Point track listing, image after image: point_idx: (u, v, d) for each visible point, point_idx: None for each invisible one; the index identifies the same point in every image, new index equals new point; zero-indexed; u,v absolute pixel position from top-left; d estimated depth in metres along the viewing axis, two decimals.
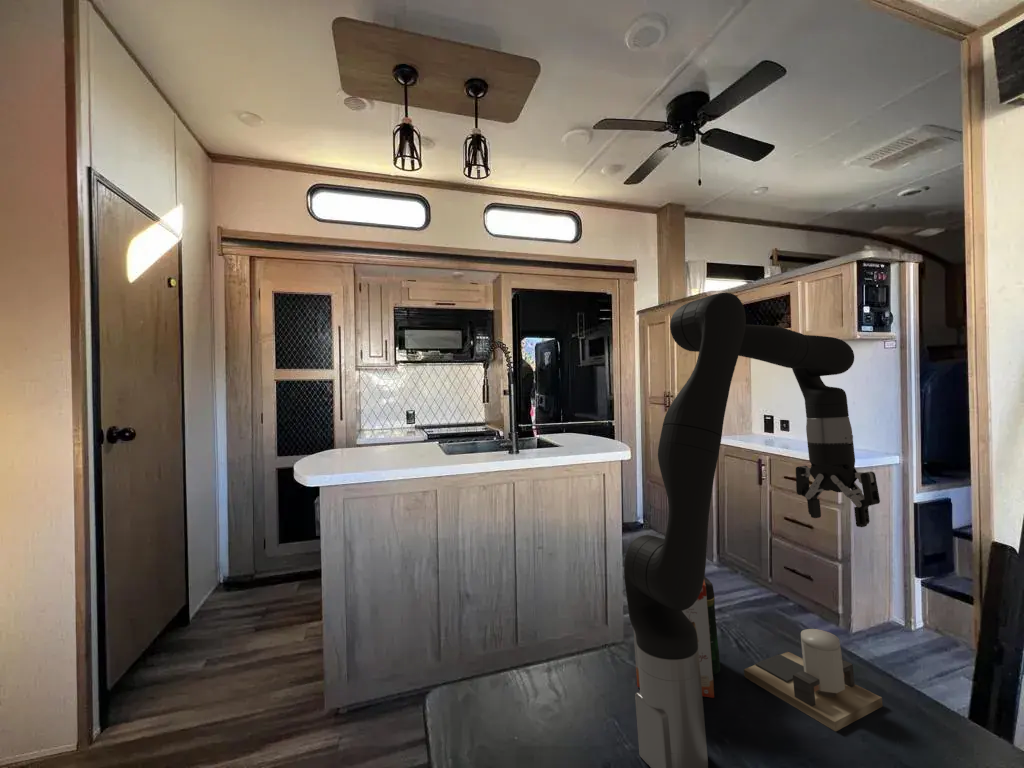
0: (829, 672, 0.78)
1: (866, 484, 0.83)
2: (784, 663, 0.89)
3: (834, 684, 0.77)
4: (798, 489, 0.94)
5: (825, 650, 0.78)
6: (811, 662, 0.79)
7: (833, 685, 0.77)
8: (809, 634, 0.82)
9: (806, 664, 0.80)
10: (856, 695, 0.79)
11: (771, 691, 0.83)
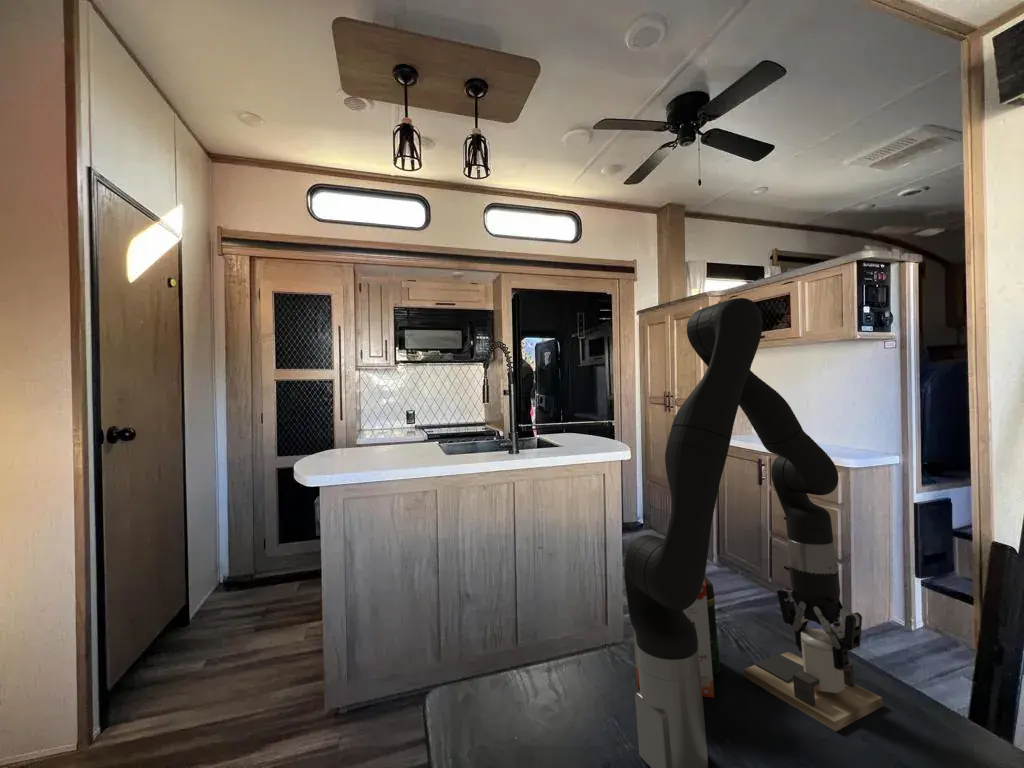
0: (829, 672, 0.78)
1: (849, 628, 0.75)
2: (784, 663, 0.89)
3: (834, 684, 0.77)
4: (785, 617, 0.85)
5: (825, 650, 0.78)
6: (811, 662, 0.79)
7: (833, 685, 0.77)
8: (809, 634, 0.82)
9: (806, 664, 0.80)
10: (856, 695, 0.79)
11: (771, 691, 0.83)
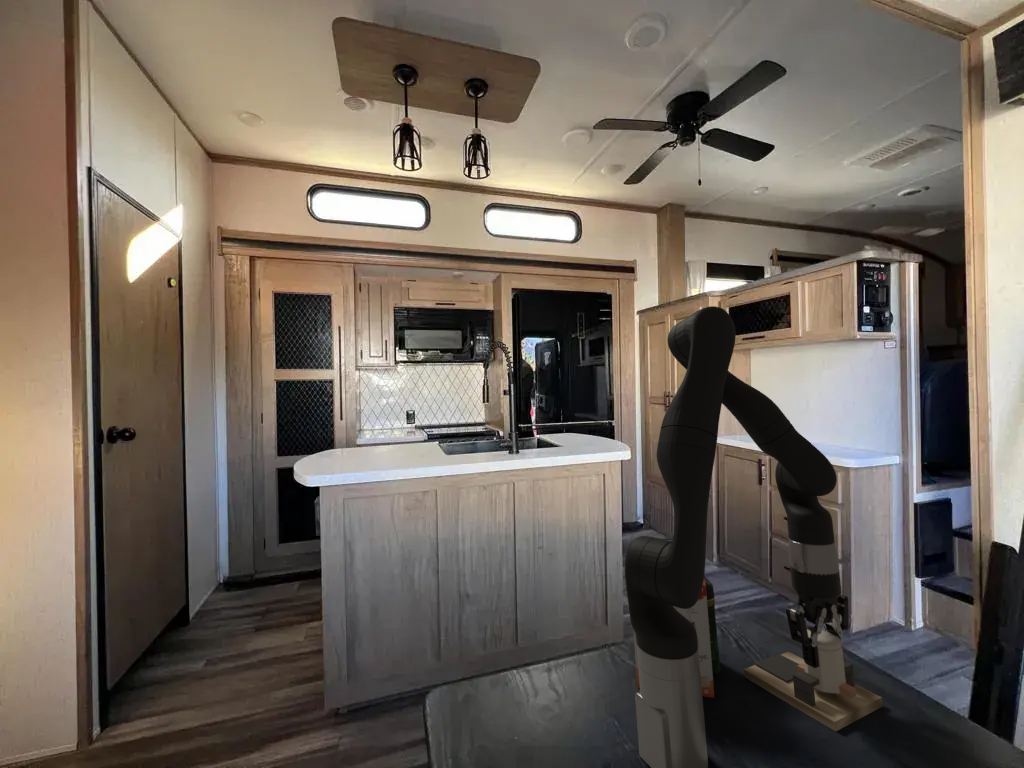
0: None
1: None
2: (784, 663, 0.89)
3: None
4: None
5: None
6: None
7: None
8: (821, 633, 0.82)
9: None
10: (856, 695, 0.79)
11: (771, 691, 0.83)
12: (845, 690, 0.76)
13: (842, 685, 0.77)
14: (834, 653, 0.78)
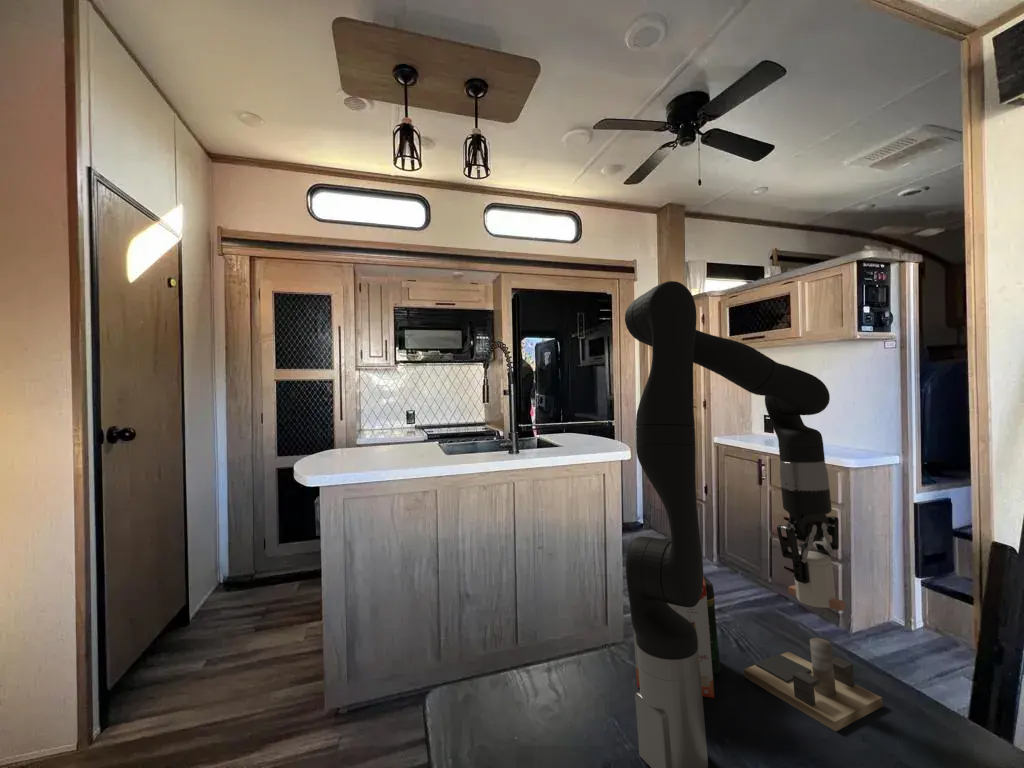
0: (797, 581, 0.82)
1: None
2: (784, 663, 0.89)
3: (798, 593, 0.81)
4: None
5: None
6: None
7: (798, 594, 0.81)
8: (811, 553, 0.83)
9: None
10: (856, 695, 0.79)
11: (771, 691, 0.83)
12: (835, 603, 0.78)
13: (831, 600, 0.78)
14: (824, 568, 0.79)
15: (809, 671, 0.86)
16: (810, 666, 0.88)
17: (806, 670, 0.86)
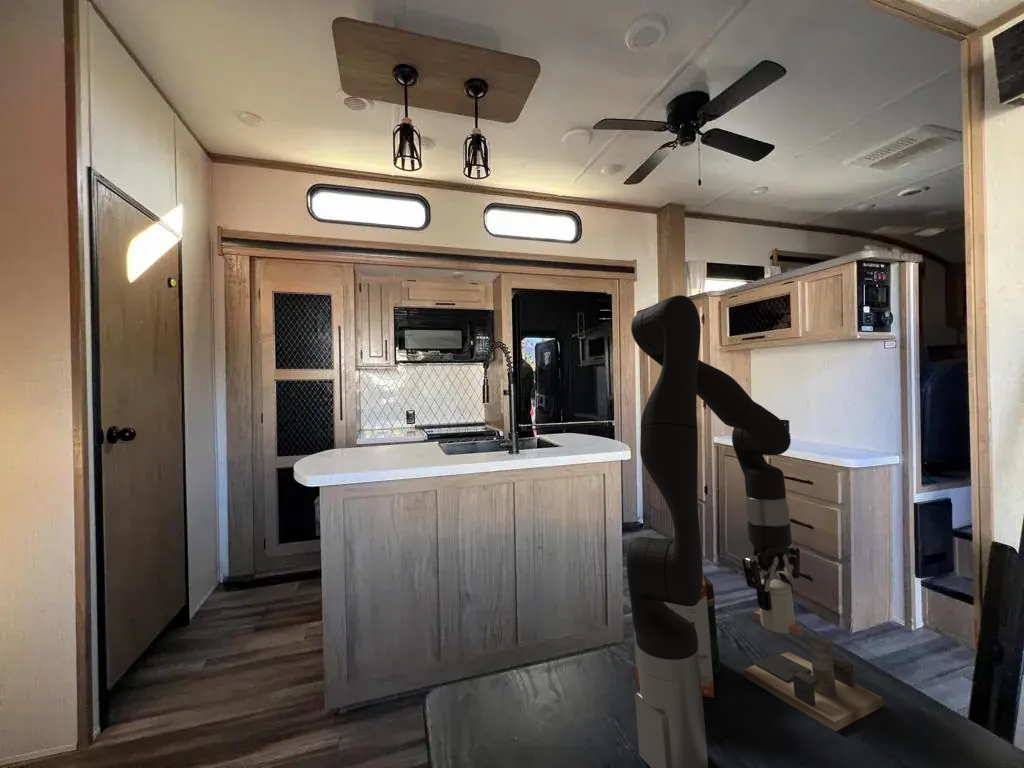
0: (760, 608, 0.89)
1: None
2: (784, 663, 0.89)
3: (762, 618, 0.88)
4: None
5: None
6: None
7: (762, 619, 0.88)
8: (774, 581, 0.90)
9: None
10: (856, 695, 0.79)
11: (771, 691, 0.83)
12: (794, 629, 0.85)
13: (791, 625, 0.86)
14: (784, 597, 0.86)
15: (809, 671, 0.86)
16: (810, 666, 0.88)
17: (806, 670, 0.86)
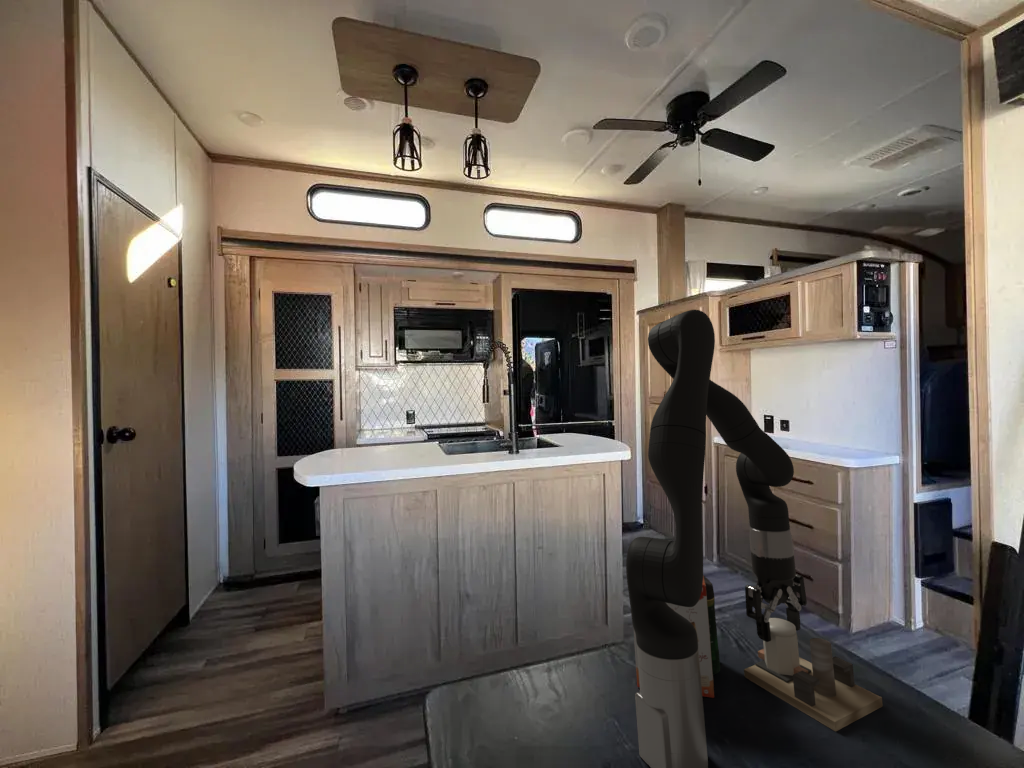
0: (765, 648, 0.88)
1: None
2: None
3: (766, 659, 0.88)
4: None
5: None
6: None
7: (766, 660, 0.88)
8: (779, 621, 0.89)
9: None
10: (856, 695, 0.79)
11: (771, 691, 0.83)
12: None
13: (796, 668, 0.85)
14: (789, 638, 0.85)
15: (809, 671, 0.86)
16: (810, 666, 0.88)
17: None
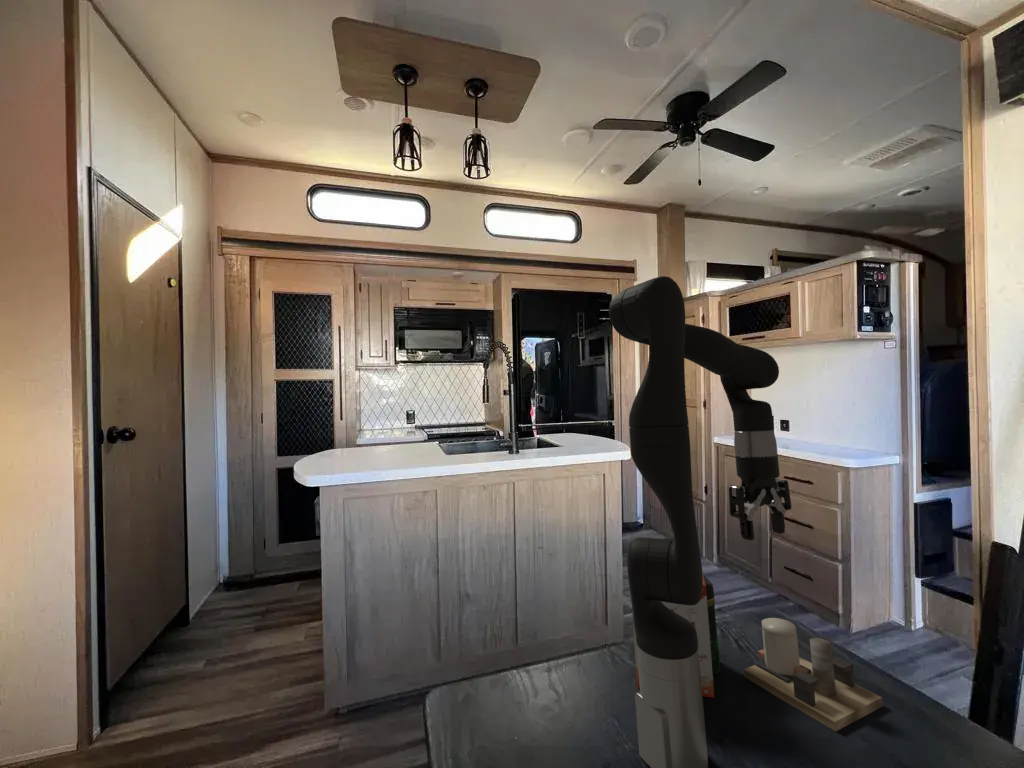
0: (765, 648, 0.88)
1: None
2: None
3: (766, 659, 0.88)
4: None
5: (763, 628, 0.89)
6: None
7: (766, 660, 0.88)
8: (779, 621, 0.89)
9: None
10: (856, 695, 0.79)
11: (771, 691, 0.83)
12: None
13: (796, 668, 0.85)
14: (789, 638, 0.85)
15: (809, 671, 0.86)
16: (810, 666, 0.88)
17: None
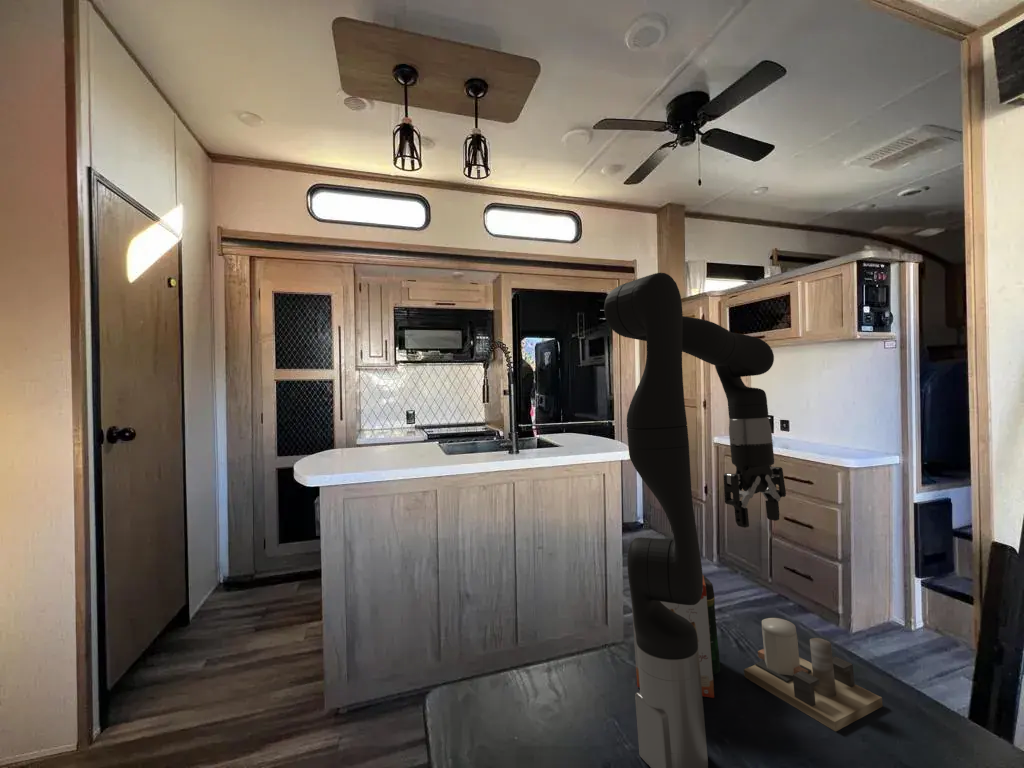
0: (765, 648, 0.88)
1: None
2: None
3: (766, 659, 0.88)
4: None
5: (763, 628, 0.89)
6: None
7: (766, 660, 0.88)
8: (779, 621, 0.89)
9: None
10: (856, 695, 0.79)
11: (771, 691, 0.83)
12: None
13: (796, 668, 0.85)
14: (789, 638, 0.85)
15: (809, 671, 0.86)
16: (810, 666, 0.88)
17: None
